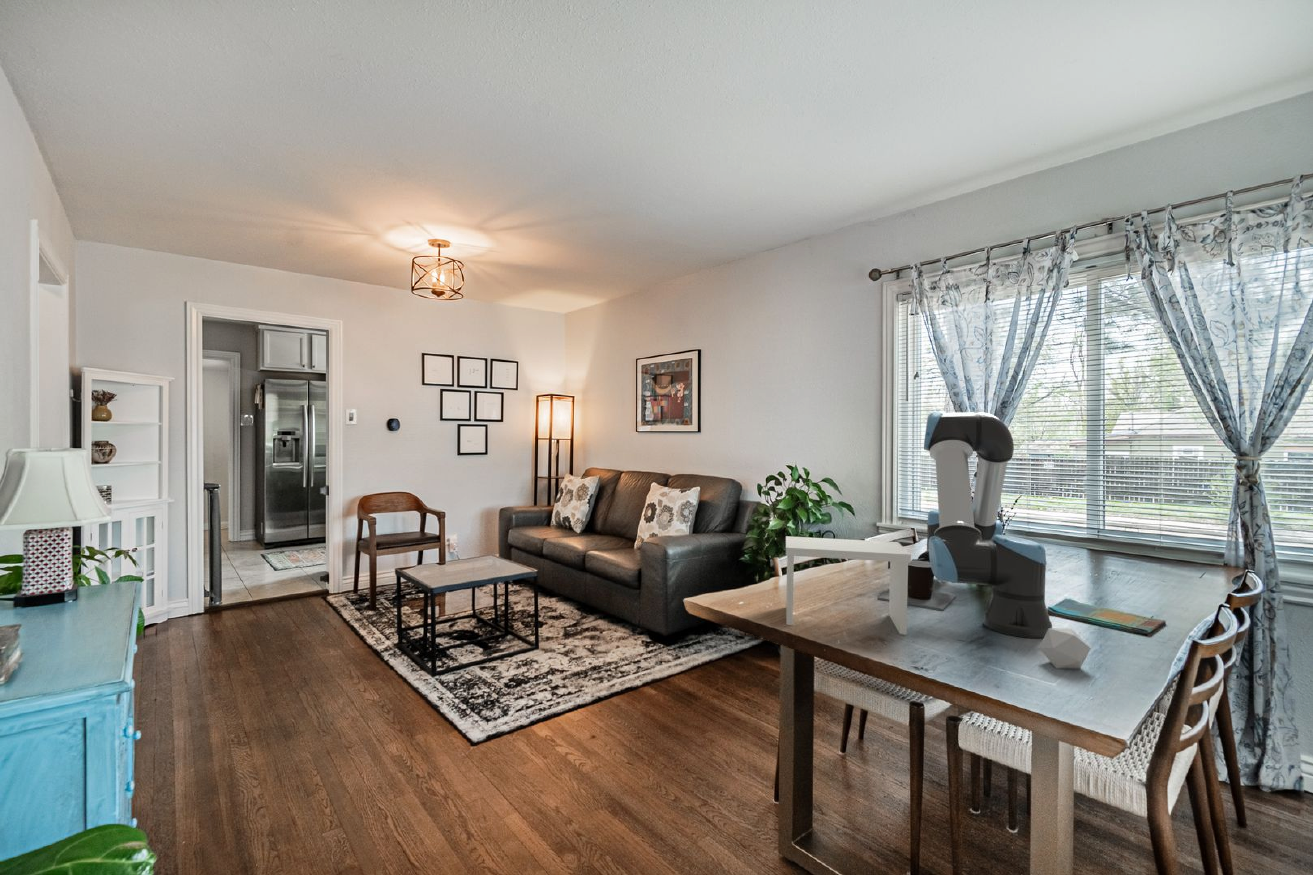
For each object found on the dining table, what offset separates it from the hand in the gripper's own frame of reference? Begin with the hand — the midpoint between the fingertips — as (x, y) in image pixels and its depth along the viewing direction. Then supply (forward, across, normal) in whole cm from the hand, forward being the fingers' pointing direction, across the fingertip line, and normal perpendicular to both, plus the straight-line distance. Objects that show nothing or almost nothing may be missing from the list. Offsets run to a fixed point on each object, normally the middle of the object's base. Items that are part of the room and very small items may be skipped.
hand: (915, 573), depth 180 cm
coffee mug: (-4, -1, -8) cm, 9 cm away
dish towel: (-16, -45, -9) cm, 49 cm away
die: (+32, -39, -8) cm, 51 cm away
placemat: (-3, 0, -8) cm, 9 cm away
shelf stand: (+32, +10, -8) cm, 35 cm away
